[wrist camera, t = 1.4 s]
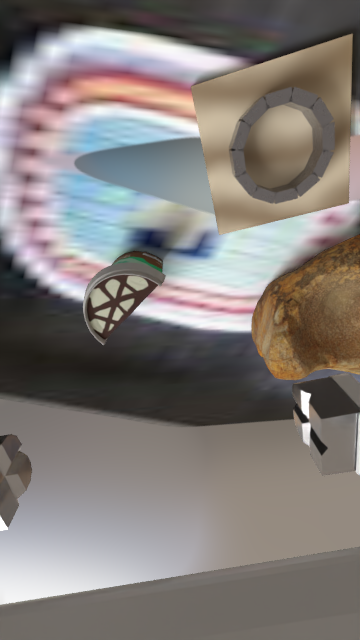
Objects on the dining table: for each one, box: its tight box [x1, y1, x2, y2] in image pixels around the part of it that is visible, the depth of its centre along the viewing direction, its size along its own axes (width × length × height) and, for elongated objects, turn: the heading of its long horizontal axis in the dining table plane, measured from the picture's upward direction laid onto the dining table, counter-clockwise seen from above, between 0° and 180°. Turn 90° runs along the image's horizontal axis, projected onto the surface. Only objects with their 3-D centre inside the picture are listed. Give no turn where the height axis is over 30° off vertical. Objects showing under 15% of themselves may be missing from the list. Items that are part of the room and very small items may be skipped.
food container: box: [83, 251, 165, 345], centre depth 40 cm, size 12×6×10 cm, turn 138°
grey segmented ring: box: [229, 87, 335, 204], centre depth 33 cm, size 10×10×3 cm
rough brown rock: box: [252, 234, 360, 380], centre depth 38 cm, size 23×17×15 cm
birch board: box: [191, 34, 353, 235], centre depth 35 cm, size 16×16×1 cm
